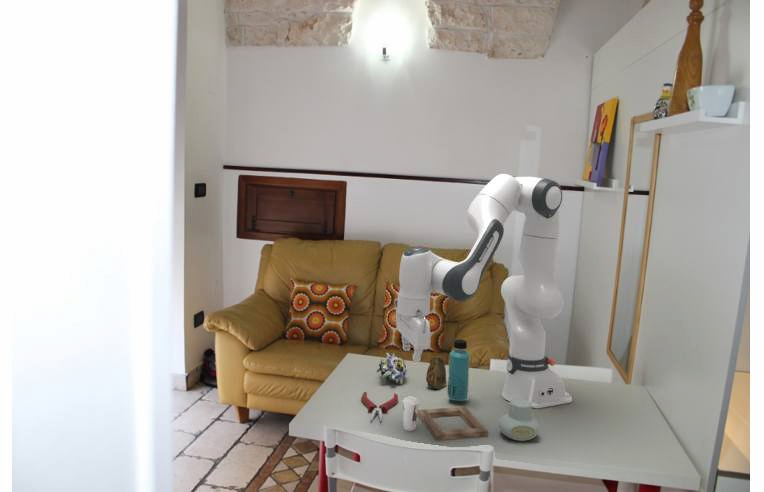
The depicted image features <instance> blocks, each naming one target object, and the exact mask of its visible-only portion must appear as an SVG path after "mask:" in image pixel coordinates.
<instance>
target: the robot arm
mask: <svg viewBox="0 0 764 492" xmlns="http://www.w3.org/2000/svg"><path fill="white" fill-rule="evenodd" d="M562 202H563V191H562V187H561V186H560V184H559V183H558V182H557V181H555V180H552V179H549V178H543V177H542V178H541V177H537V176H516V175H515V176H514V175H511V174H508V173H499V174H497V175H496V176H495V177H493V178H492V179H491V180H490V181H489V182H487V184H485V185H484V187H483V188H482V189H481V190H480V191H479V192H478V194H477V195H476V196H475V198H474V199H473V200H472V201H471V203H470V205H469V207H468V208H467V211H466V218H467V222H468V224H469V226H470V228H471V229H472V230H473V231H474V232H475V233H476V234H477V235H478V236H477V239H476V241H475V242H474V244H473V247H472V248H471V249H470V252H469V254H468V255H467V257H466V259H463V260H462V261H458V262H457V261H453V260H450V259H447V258H443V257H441V256H439V255H437V254H435V253H433V251H431V249H430V248H428V247H424V246H419V247H417V246H416V247H409V248H408V249H406V250H404V252H403V253H402V255H401V259H400V264H399V272H398V273H399V276H398V282H399V291H398V295H397V298H395V299H394V307H395V324H396V325H395V326H396V330H397V331H398V332H399V333H400V334H401V340H402V349H403V351H405V352H406V351H407V352H409V351H411V345H412V346H413V350H414V351H413V354H412V360H413V361H414V362H415V363H417V362H420V361H421V356H422V353H423V352H424V350H428V349H429V348H430V346H431V325H430V322H429V320H428V318H426V317H427V316H429V315H430V313H431V311H430V309H431V297H432V295H431V293H433V292H435V293H437V294H441V295H444V296H447V297H448V298H451V299H452V300H454V301H455V302H460V303H461V302H466V301H468V300H471V299H472V297H474V296H475V294H476V293H477V292H478V290H479V287H480V284H481V281H482V278H483V276H484V274H485V272H486V270H487V268H488V267H489V264H490V263H491V261H492V258H493V257H494V255H495V253H496V251H497V249H498V248H499V246H500V244H501V241H502V239H503V238H504V232H505V230H504V225H505V223H506V221H507V220H508V218H509V217H510V215H511V213H512V212H513V211H514V212H517V213H522V214H524V217H525V218H524V222H523V227H522V231H521V237H520V246H519V252H518V259H519V262H520V264H521V267H522V270H523V275H517V274H515V275H511V276H509V277H507V278H505V280H504V281H503V282H502V284H501V287H500V293H501V294H500V295H501V297H502V298H503V301H504V303H505V306H506V311H507V316H508V321H509V334H510V335H509V350H508V351H509V352H508V353H507V358H506V376H505V382H504V385H503V387H502V390H501V393H500V396H501V397H502V398H503V399H504V400H506V401H508V402H510V401H511V400H512V399H525V400H528V401H529V402H530V403H531V408H533V409H542V408H548V407H553V406H559V405H565V404H570V403H573V397H572V395H571V394H570V393H569V392H567V391H566V386H565V382H564V380H563V378H561V377H560V375H558V374H557V373H556V372H555V371H554V370H552V369H551V368H550V367H549V366H551V367H553V366H554V365H556V361H555V359H553V358H552V357H551V358H550V357H547V356H546V355H545V353H546V337H547V334H546V333H547V332H546V330H545V328H544V326H543V324H542V321H541V319H544V320H552V319H555V318H556V317H558V316H559V315H560V314H561V313H562V310H563V309H564V304H565V303H564V301H565V300H564V296H563V294H562V292H561V291H560V288H559V287H558V286H559V285H558V281H557V274H556V256H557V248H558V247H557V246H558V241H559V233H560V232H559V231H560V211H559V208H561V204H562Z"/></svg>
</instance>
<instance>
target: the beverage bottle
mask: <svg viewBox="0 0 764 492" xmlns="http://www.w3.org/2000/svg"><path fill="white" fill-rule="evenodd" d="M467 347H468V343H467V340H465V339H460V338H459V339H455V340H454V341H453V348H454V349H453V350H452V351H450V353H449V363H448V380H447V381H448V383H447V397H448V398H449V399H450V400H452V401H456V402H457V401H460V402H463V401H465V400H467V398H468V396H469V395H468V394H469V375H470V374H469V373H470V372H469V371H470V355H471V354H470V353H469V352H468V351H467V350H466V349H467Z"/></svg>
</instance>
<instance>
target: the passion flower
mask: <svg viewBox="0 0 764 492" xmlns="http://www.w3.org/2000/svg"><path fill="white" fill-rule="evenodd" d="M385 355H386V359H385V360H386V361H384V359H380V363H379V364H378V366H379V368H377V370H376V373H378V372H380V377H379V378H380V380H381V379H382V376H384V375H385V374H386V373H387V372H390V375H389V379H390V380H391V381H393V383H395V384H399V385H403V384H404V378H406V379H407V378H408V376H407V371H408V369H407V364H406V362H405V358H404V357H402V358H401V357H398V355H397V356H395V353H393V354H392V355H390V354H389V352H385Z"/></svg>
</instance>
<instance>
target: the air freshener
mask: <svg viewBox="0 0 764 492" xmlns="http://www.w3.org/2000/svg"><path fill="white" fill-rule="evenodd" d="M498 427H499V430H500V432H501V433H502V434H503V435H504V436H506V437H507V438H509V439H511V440H514V441H515V442H516V441H518V442H525V441H531V440H532V439H534V438H535V437H536V436H538V435H539V432H540V425H539V423H538V421H537V420H536V419H535V418H534V417H533V416H532V407H531V403H530V402H529V401H528V400H525V399H512V400H511V401H509V409H508V413H505V414H504V415H503V416H501V418H500V419H499V421H498Z"/></svg>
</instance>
